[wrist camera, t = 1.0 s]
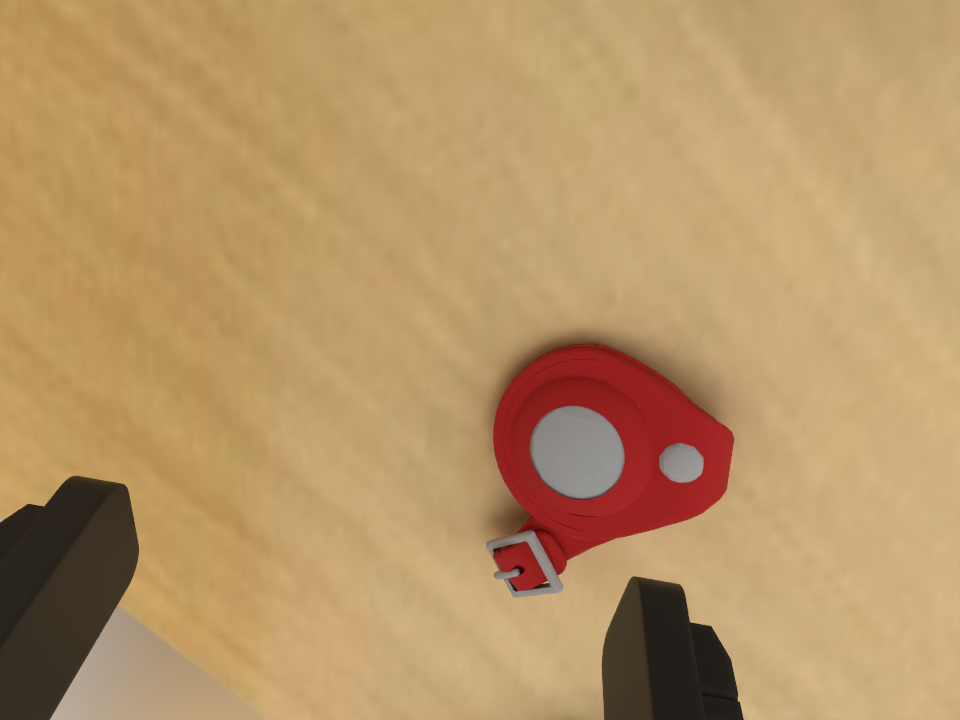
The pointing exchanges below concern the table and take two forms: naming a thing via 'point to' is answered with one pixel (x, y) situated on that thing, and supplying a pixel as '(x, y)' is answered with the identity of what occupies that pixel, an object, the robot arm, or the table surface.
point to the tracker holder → (598, 459)
